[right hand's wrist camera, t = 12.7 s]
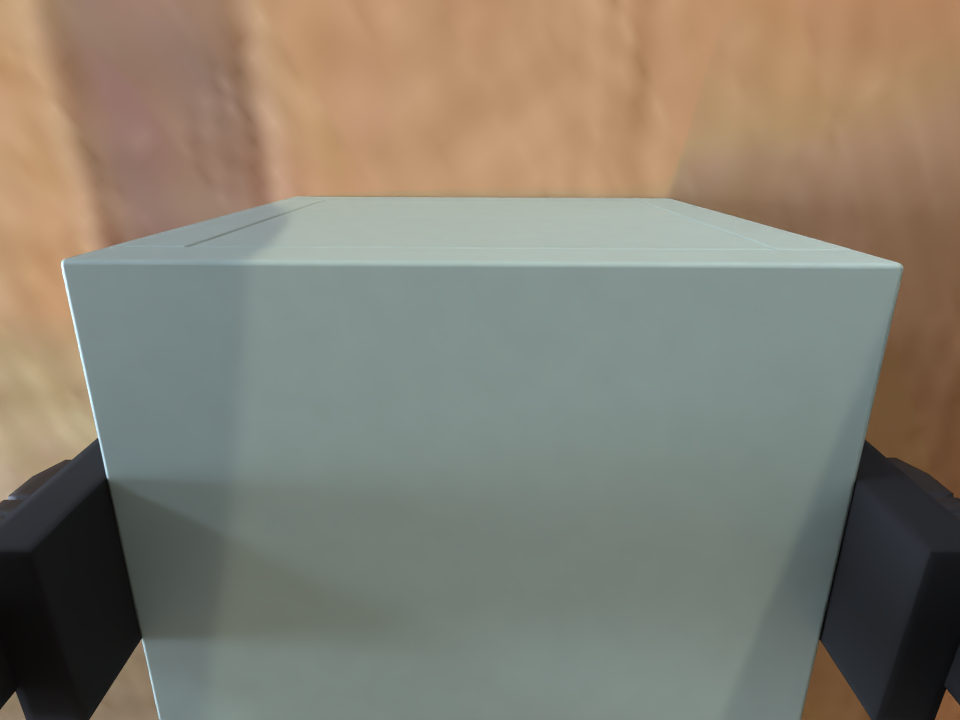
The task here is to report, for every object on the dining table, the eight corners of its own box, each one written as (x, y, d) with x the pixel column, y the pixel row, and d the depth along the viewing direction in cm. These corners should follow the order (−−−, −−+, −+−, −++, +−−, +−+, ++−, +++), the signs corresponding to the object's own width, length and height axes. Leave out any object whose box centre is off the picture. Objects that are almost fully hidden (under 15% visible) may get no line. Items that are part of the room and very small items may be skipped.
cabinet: (611, 790, 24) (693, 1201, 15) (347, 788, 24) (261, 1197, 15) (671, 198, 17) (908, 263, 7) (293, 196, 17) (57, 259, 7)
